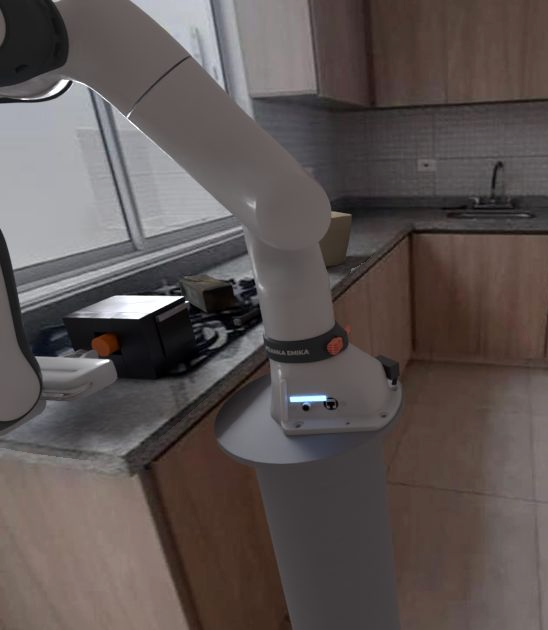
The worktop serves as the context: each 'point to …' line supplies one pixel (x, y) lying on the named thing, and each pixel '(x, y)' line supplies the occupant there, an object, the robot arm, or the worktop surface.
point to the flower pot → (336, 239)
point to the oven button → (105, 344)
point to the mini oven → (137, 333)
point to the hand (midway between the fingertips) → (90, 353)
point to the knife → (247, 316)
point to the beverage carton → (207, 293)
